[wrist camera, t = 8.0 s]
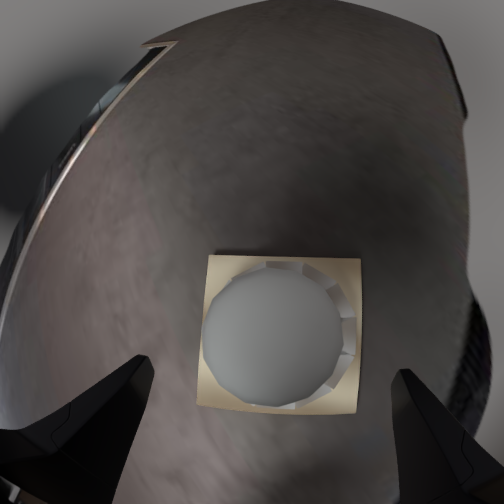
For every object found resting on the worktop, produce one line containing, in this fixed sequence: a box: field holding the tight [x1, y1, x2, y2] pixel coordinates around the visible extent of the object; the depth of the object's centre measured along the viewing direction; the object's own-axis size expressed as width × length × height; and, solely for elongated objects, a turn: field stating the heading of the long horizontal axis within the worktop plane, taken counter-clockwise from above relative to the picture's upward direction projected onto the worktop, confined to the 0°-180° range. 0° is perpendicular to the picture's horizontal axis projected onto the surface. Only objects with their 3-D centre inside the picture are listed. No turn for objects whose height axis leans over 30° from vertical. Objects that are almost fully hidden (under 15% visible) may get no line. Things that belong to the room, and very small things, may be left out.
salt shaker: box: [201, 267, 344, 407], centre depth 13 cm, size 6×6×13 cm
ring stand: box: [197, 255, 362, 415], centre depth 19 cm, size 12×12×2 cm
